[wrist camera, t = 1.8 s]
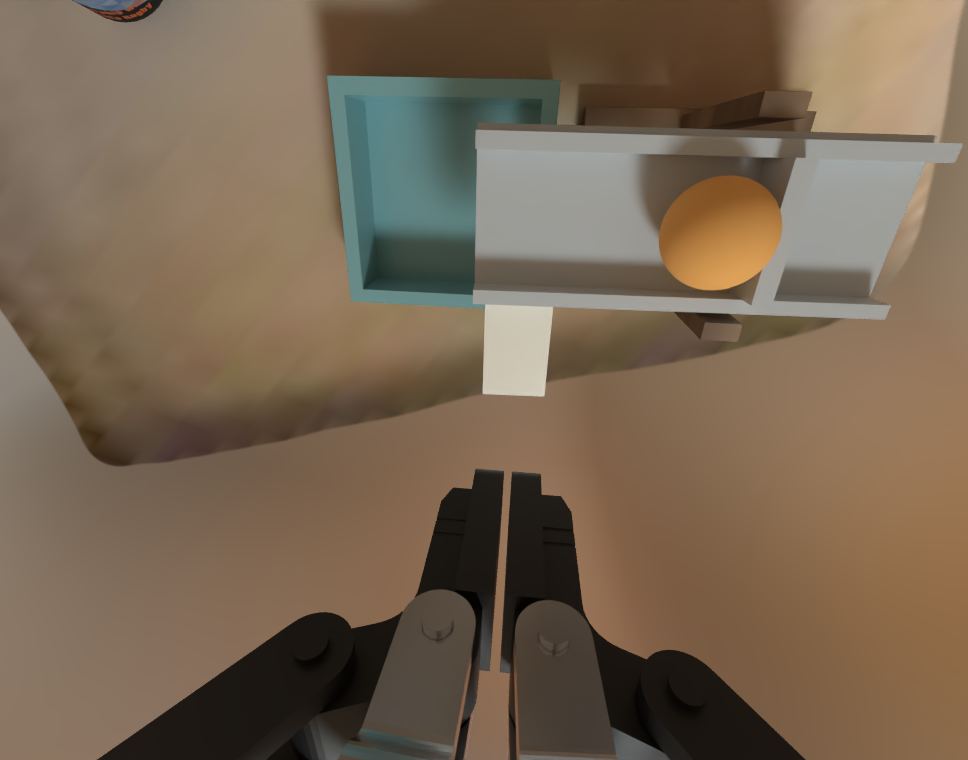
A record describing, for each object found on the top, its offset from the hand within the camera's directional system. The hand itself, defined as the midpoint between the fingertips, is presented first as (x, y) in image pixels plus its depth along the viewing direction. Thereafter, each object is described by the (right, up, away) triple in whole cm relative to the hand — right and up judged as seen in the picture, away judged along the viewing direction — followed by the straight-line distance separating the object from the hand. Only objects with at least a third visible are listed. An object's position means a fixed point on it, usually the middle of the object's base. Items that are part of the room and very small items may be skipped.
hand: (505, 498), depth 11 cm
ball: (+8, +8, +5) cm, 13 cm away
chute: (+8, +11, +15) cm, 20 cm away
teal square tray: (-2, +14, +17) cm, 22 cm away
